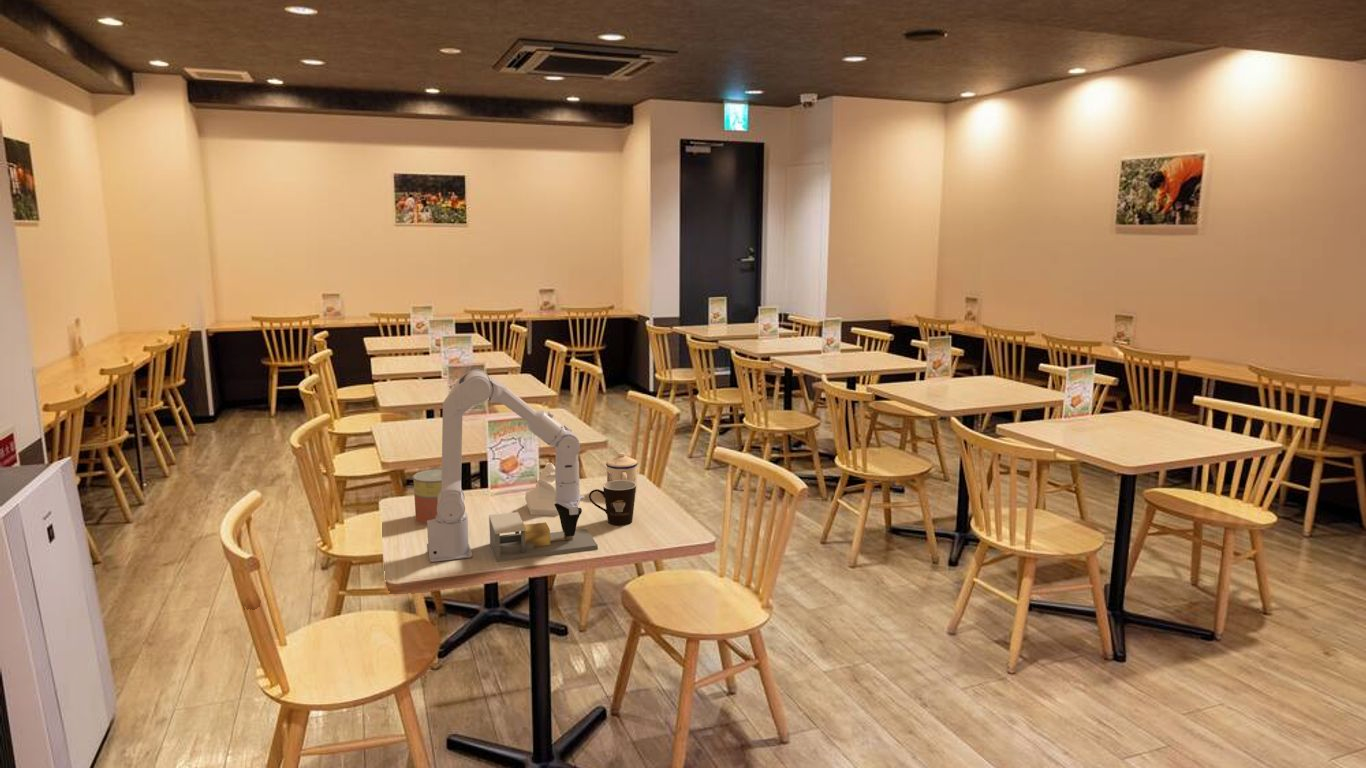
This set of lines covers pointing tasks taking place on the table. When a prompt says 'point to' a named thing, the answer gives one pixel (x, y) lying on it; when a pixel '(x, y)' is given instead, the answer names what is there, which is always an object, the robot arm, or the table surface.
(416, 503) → the canned food
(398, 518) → the table surface
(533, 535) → the yellow block
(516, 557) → the plate
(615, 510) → the coffee mug
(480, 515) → the table surface
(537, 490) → the cream faceted rock
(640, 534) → the table surface
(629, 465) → the teacup with lid
